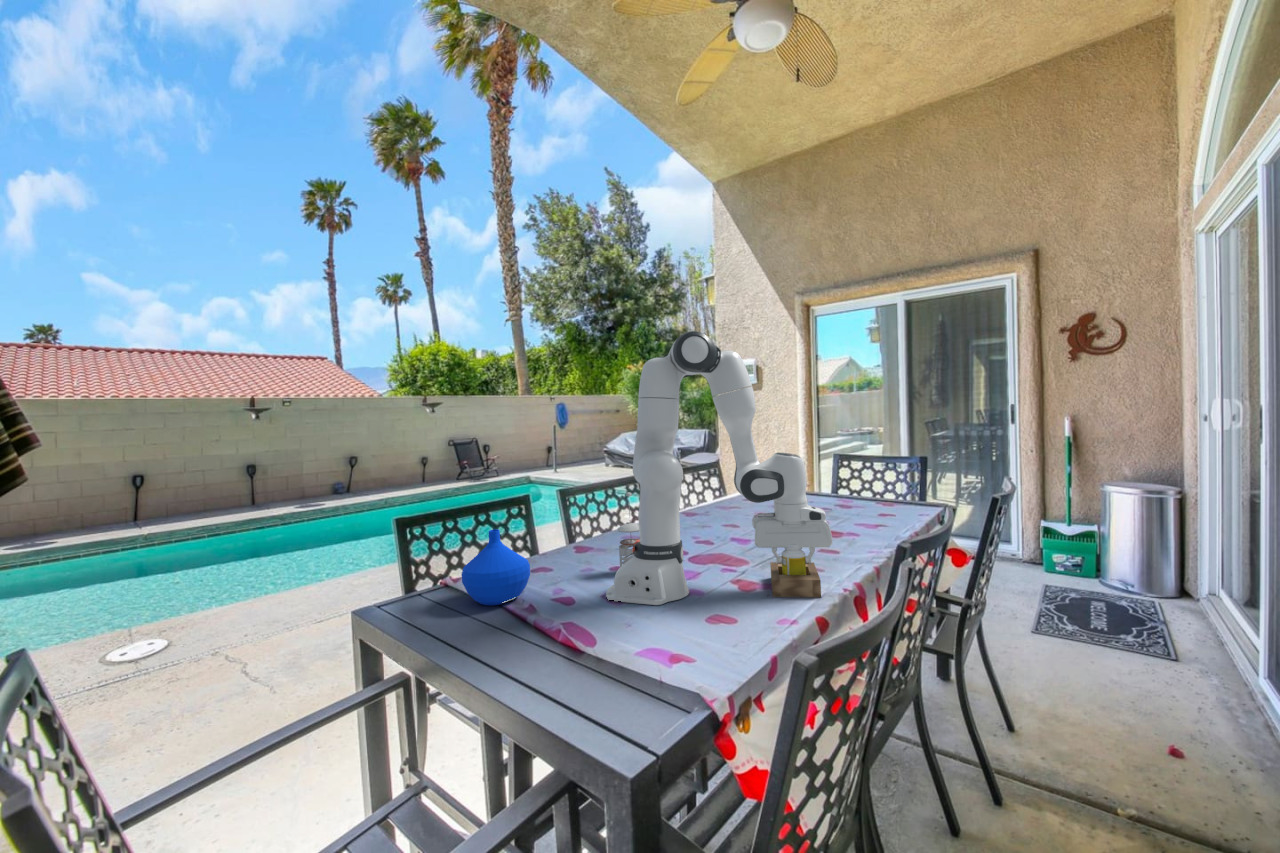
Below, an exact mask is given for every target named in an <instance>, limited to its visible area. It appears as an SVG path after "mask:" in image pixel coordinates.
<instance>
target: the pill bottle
mask: <svg viewBox="0 0 1280 853" xmlns="http://www.w3.org/2000/svg"><path fill="white" fill-rule="evenodd" d="M802 549H803V547H799V545H788V547H787V548H784V549H783V551H782V552H781V556H782V575H806V563H805V556H806V553H805V552H804V551H803V550H802Z"/></svg>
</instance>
